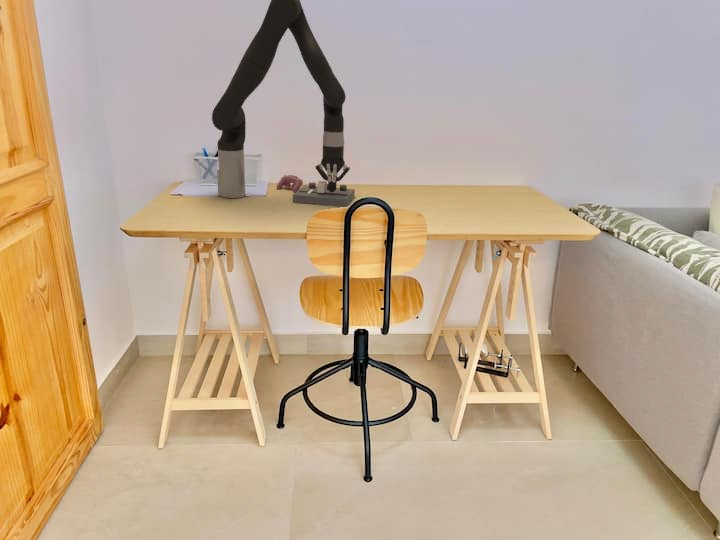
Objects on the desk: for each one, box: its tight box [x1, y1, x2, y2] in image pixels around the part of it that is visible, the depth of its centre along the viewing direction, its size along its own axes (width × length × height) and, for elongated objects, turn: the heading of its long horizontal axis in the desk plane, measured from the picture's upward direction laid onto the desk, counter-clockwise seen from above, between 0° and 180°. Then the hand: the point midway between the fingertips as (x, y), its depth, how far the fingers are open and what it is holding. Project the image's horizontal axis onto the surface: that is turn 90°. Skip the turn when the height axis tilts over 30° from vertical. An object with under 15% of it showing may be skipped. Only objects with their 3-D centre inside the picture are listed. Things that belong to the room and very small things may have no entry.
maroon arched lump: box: [276, 174, 304, 194], centre depth 217 cm, size 10×5×7 cm, turn 58°
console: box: [292, 182, 356, 207], centre depth 206 cm, size 20×16×5 cm
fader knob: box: [317, 180, 328, 193], centre depth 203 cm, size 2×4×4 cm, turn 171°
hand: (332, 191), depth 203 cm, fingers closed
